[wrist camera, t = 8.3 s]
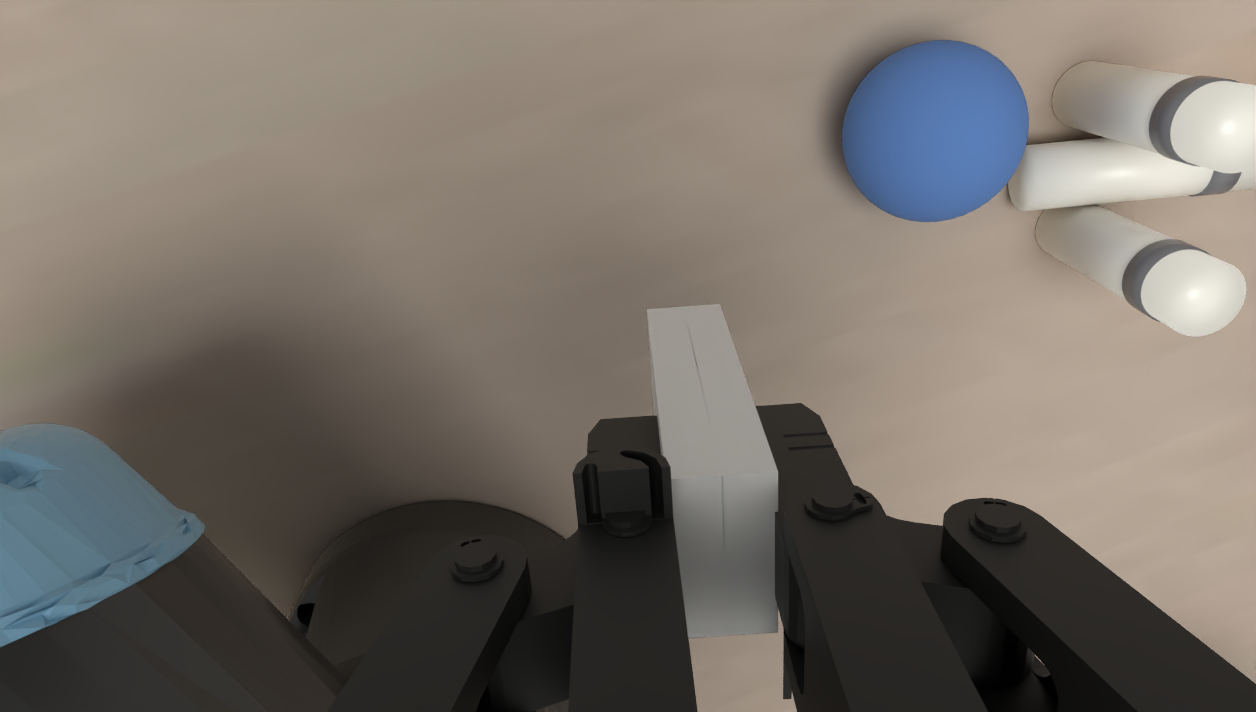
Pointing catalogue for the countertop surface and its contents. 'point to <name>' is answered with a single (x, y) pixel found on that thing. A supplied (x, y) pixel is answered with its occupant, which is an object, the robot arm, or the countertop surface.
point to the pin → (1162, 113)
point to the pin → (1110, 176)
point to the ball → (935, 131)
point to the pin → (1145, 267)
